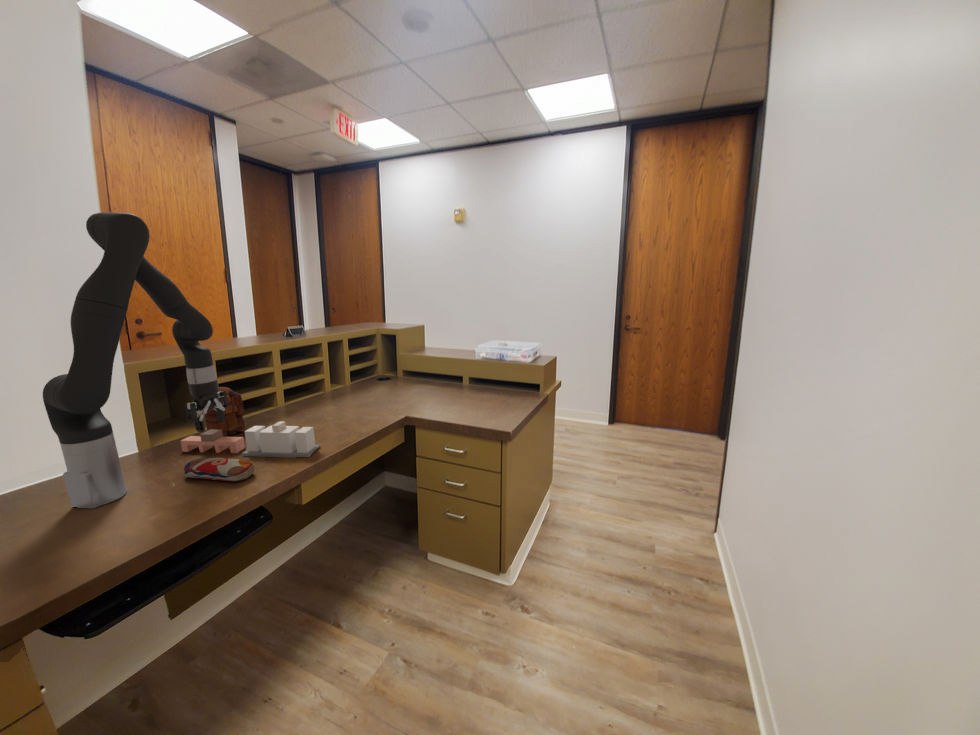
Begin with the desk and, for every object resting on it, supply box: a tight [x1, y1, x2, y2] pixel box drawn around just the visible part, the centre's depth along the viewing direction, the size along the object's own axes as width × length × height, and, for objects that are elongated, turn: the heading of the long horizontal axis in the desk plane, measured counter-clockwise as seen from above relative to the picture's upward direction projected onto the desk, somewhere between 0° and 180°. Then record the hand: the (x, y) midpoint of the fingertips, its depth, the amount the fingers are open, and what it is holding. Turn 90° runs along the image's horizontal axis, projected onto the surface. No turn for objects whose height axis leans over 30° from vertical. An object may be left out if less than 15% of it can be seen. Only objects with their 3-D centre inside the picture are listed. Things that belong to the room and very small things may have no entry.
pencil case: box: [183, 457, 255, 482], centre depth 109 cm, size 11×20×5 cm, turn 66°
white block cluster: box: [241, 420, 321, 458], centre depth 124 cm, size 8×22×10 cm, turn 87°
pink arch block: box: [180, 429, 246, 454], centre depth 126 cm, size 4×19×6 cm, turn 87°
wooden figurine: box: [204, 386, 246, 437], centre depth 138 cm, size 12×6×18 cm, turn 134°
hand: (211, 426), depth 125 cm, fingers open, 8 cm apart
